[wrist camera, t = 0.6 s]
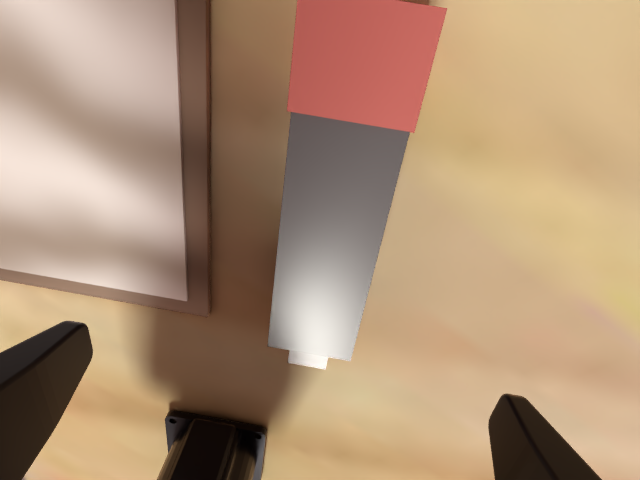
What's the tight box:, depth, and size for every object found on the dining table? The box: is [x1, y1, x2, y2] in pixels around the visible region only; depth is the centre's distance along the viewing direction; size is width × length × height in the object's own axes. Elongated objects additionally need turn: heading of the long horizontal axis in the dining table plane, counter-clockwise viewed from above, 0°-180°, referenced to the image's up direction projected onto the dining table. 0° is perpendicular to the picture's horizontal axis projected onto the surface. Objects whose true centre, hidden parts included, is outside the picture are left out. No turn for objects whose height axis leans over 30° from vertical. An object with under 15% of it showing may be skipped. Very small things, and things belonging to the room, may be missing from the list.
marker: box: [268, 0, 447, 369], centre depth 16 cm, size 15×4×4 cm, turn 172°
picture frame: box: [0, 0, 210, 317], centre depth 16 cm, size 20×13×1 cm, turn 172°
